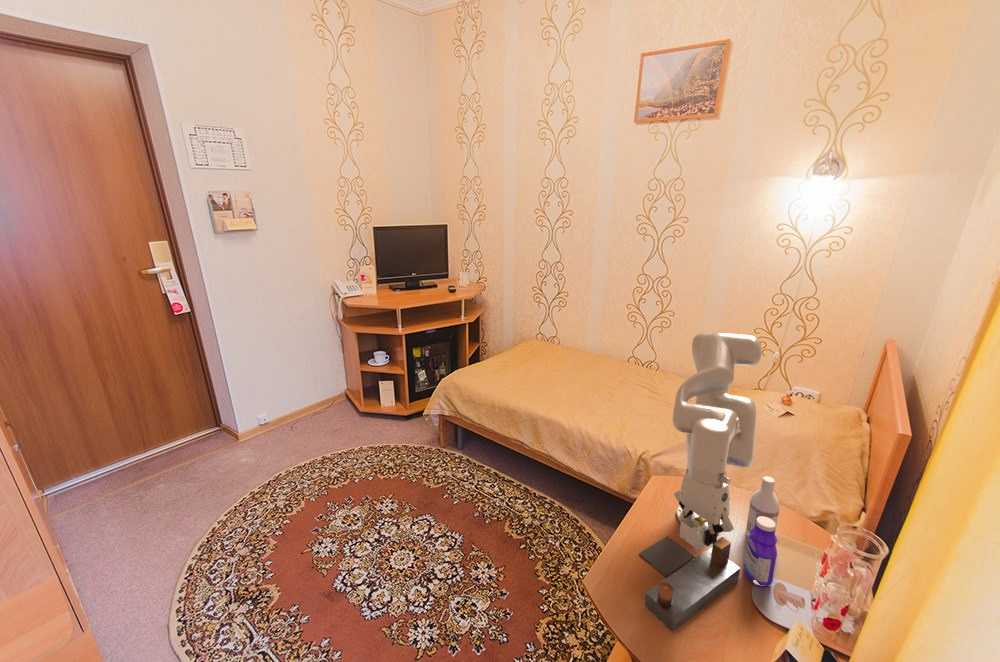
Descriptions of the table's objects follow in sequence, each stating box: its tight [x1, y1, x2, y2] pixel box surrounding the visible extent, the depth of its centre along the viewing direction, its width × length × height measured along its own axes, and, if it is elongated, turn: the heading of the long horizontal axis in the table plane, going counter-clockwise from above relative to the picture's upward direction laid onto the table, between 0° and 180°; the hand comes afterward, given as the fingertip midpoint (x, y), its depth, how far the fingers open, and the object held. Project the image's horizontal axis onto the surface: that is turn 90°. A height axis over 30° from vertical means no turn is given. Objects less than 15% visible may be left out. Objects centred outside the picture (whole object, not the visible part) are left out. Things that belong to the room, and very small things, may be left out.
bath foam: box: [745, 475, 780, 538], centre depth 117 cm, size 7×7×20 cm
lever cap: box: [679, 513, 721, 551], centre depth 98 cm, size 8×5×5 cm, turn 120°
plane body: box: [644, 536, 741, 633], centre depth 102 cm, size 26×8×10 cm, turn 120°
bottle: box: [743, 516, 778, 587], centre depth 104 cm, size 7×6×17 cm
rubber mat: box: [638, 535, 696, 578], centre depth 114 cm, size 12×9×1 cm
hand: (699, 534), depth 99 cm, fingers closed on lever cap, 5 cm apart
